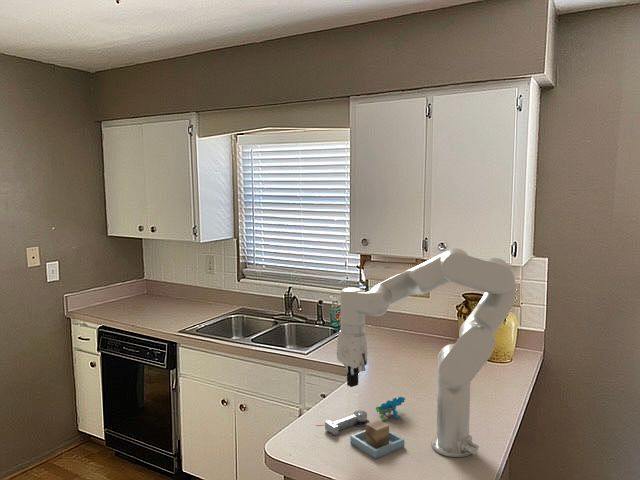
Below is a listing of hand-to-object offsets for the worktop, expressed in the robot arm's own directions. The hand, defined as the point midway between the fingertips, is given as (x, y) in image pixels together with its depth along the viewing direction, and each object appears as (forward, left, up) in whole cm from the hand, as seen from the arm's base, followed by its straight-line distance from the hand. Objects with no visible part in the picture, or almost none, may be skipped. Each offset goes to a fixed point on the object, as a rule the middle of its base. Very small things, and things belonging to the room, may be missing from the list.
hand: (352, 385), depth 164 cm
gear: (+4, -20, -17) cm, 26 cm away
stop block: (-9, -3, -16) cm, 19 cm away
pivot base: (+8, -3, -17) cm, 19 cm away
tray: (-9, -3, -17) cm, 19 cm away
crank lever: (+6, -3, -17) cm, 18 cm away
